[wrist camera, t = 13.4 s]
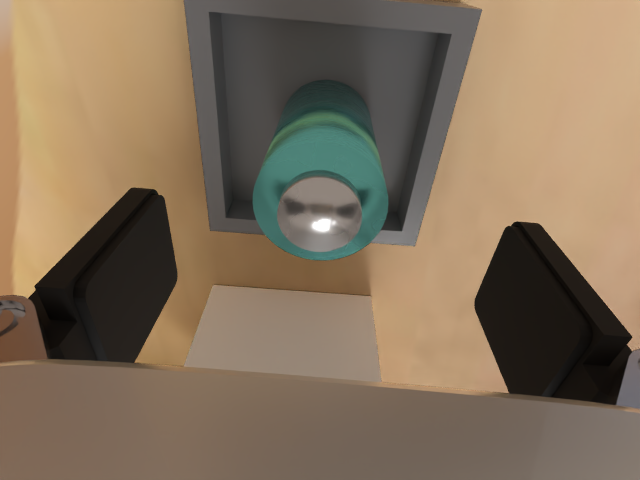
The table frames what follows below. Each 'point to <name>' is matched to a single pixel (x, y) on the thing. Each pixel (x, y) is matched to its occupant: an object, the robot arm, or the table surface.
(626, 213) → the table surface
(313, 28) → the tray
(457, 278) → the table surface
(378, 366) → the unit
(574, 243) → the table surface
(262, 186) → the cylinder
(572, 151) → the table surface
